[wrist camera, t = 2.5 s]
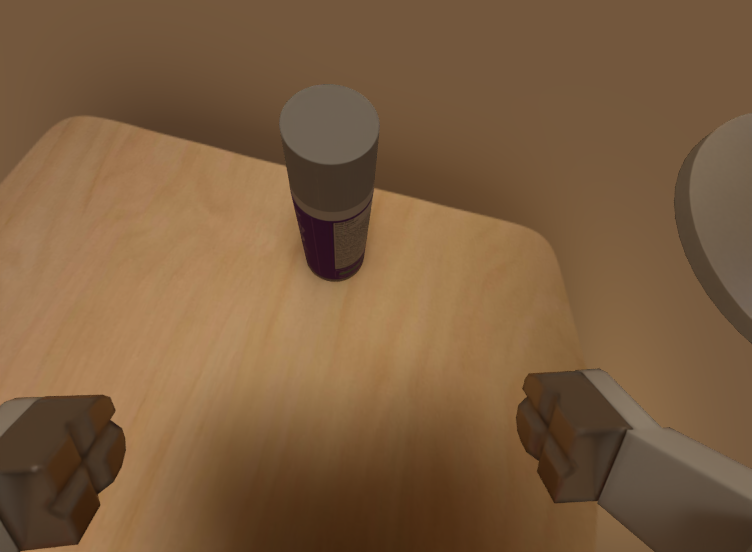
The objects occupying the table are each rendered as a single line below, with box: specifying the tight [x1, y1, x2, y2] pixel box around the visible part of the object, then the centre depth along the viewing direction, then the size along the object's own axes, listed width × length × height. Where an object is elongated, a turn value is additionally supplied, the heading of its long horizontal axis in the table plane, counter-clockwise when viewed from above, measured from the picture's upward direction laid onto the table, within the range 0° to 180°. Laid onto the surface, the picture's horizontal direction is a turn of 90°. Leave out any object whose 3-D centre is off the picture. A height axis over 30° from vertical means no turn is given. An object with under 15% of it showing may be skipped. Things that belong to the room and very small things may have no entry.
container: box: [279, 84, 380, 281], centre depth 24 cm, size 5×5×15 cm
